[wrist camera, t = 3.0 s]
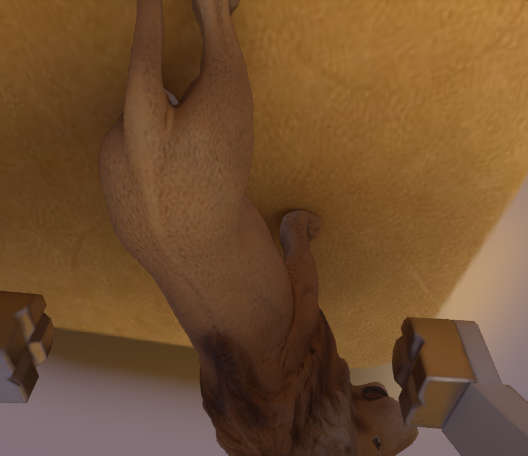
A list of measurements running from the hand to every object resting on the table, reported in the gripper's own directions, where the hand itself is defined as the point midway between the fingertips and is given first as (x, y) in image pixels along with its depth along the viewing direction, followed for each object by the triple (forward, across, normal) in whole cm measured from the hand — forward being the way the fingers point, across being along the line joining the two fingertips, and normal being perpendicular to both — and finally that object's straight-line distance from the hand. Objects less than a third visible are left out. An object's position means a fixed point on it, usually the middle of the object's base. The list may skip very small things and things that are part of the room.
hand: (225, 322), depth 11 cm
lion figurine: (+6, -1, 0) cm, 6 cm away
